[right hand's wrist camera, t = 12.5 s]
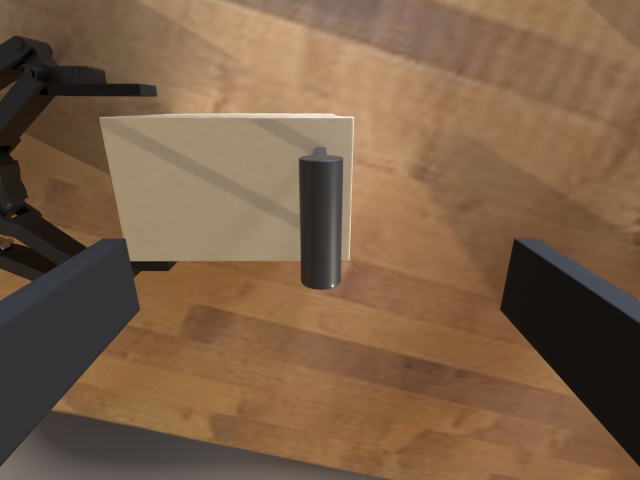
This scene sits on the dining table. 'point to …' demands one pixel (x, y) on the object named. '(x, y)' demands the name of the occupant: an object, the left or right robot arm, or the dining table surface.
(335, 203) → the lid
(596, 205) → the dining table surface
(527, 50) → the dining table surface
